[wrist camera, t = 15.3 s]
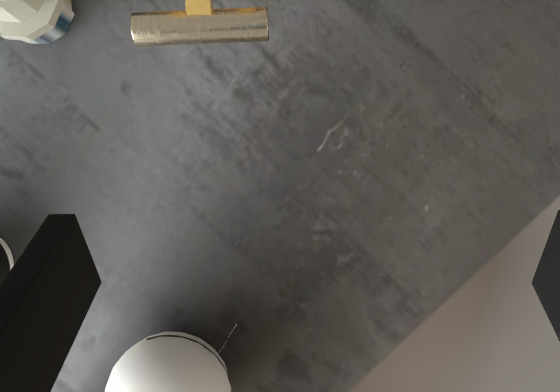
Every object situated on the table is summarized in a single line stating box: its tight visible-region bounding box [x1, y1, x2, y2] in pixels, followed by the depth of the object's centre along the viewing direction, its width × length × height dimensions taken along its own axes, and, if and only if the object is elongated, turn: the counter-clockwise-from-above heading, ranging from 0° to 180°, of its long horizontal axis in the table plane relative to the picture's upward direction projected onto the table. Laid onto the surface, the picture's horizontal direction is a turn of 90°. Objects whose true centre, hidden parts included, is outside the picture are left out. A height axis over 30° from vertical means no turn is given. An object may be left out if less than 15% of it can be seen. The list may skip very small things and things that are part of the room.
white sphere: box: [105, 324, 237, 392], centre depth 29 cm, size 10×7×7 cm
